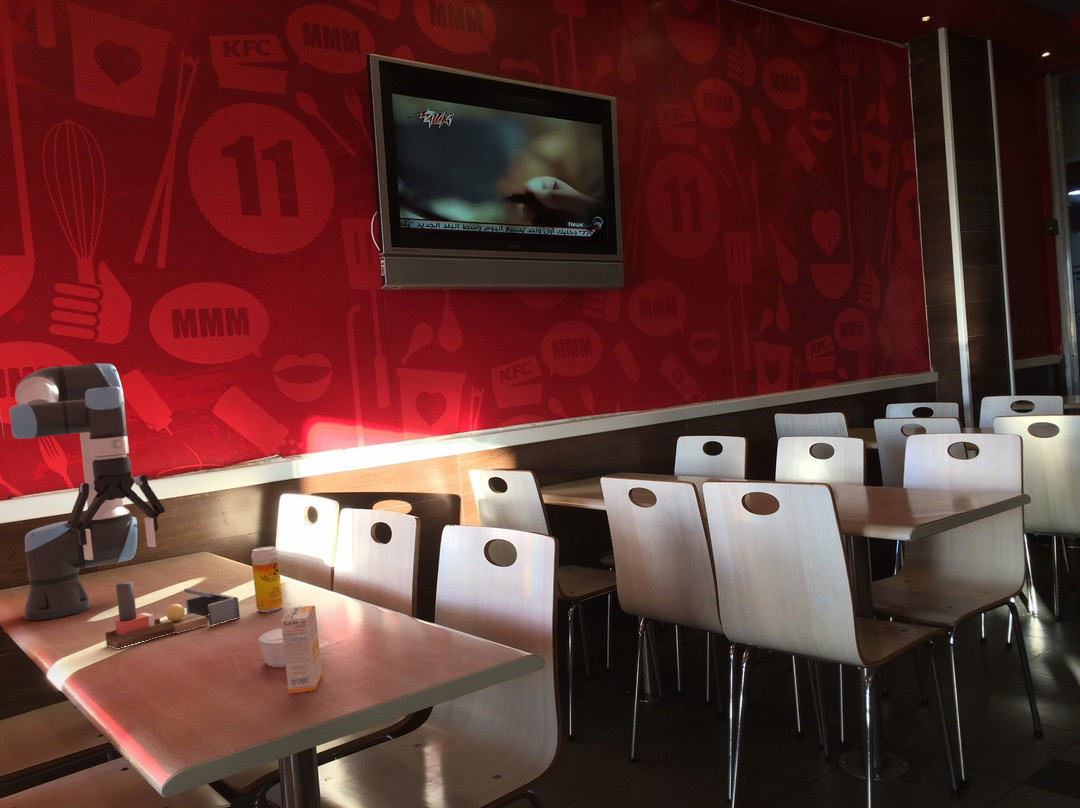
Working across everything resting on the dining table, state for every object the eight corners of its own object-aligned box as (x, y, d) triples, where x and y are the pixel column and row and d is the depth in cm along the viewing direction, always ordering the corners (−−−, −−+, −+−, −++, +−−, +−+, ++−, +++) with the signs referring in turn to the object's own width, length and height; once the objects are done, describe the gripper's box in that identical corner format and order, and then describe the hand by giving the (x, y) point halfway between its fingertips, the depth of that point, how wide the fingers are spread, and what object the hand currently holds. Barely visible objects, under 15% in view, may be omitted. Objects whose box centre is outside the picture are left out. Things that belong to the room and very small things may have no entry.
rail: (106, 646, 194) (105, 632, 194) (160, 631, 203) (158, 618, 203) (118, 649, 190) (116, 636, 190) (172, 634, 199) (170, 621, 199)
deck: (160, 629, 204) (159, 621, 204) (191, 621, 210) (190, 613, 210) (176, 634, 199) (175, 625, 199) (207, 625, 204) (206, 616, 204)
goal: (187, 620, 211) (184, 588, 211) (215, 612, 216) (211, 582, 216) (212, 626, 203) (208, 593, 203) (239, 618, 208) (236, 586, 208)
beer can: (275, 612, 211) (269, 550, 210) (252, 613, 212) (245, 552, 211) (287, 605, 217) (281, 545, 216) (265, 606, 218) (258, 546, 217)
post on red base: (116, 633, 195) (111, 584, 195) (146, 625, 200) (141, 577, 200) (124, 636, 192) (119, 586, 192) (155, 627, 197) (149, 579, 197)
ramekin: (288, 672, 164) (285, 644, 164) (248, 666, 170) (245, 639, 170) (332, 653, 174) (329, 627, 174) (292, 648, 180) (290, 623, 179)
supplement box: (296, 678, 160) (288, 607, 159) (323, 675, 160) (315, 604, 160) (287, 694, 152) (279, 619, 151) (315, 691, 152) (307, 616, 152)
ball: (163, 622, 203) (162, 605, 203) (180, 617, 206) (178, 600, 206) (171, 624, 200) (170, 607, 200) (188, 619, 203) (186, 602, 203)
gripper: (56, 464, 182) (67, 566, 183) (173, 450, 201) (183, 542, 201) (43, 464, 187) (54, 563, 188) (159, 450, 206) (168, 540, 206)
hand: (121, 553), depth 194 cm, fingers open, 13 cm apart
